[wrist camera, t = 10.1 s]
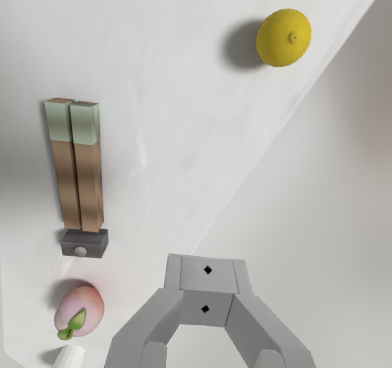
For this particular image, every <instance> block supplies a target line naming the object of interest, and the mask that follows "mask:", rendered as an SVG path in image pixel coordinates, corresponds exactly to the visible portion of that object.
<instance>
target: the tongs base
mask: <svg viewBox="0 0 392 368" xmlns="http://www.w3.org/2000/svg"><path fill="white" fill-rule="evenodd" d="M74 103H75V100H71V99H62V98H54V99H51V100H48V101H44V104H45V111H46V117H47V123H48V129H49V136H50V140H51V143H52V150H53V156H54V162H55V169H56V175H57V182H58V188H59V194H60V201H61V207H62V213H63V220H64V226H65V228H69V230H68V232H67V233H66V234H65V236H64V237H63V239H62V240H61V241H60V242H61V248H62V254H63V255H65V256H78V257H90V258H102V256H103V254H104V251H105V249H106V247H107V245H108V243H109V242H108V230H106V229H99V231H98V232H89V231H83V227H82V217H81V207H80V197H79V187H78V176H77V166H76V156H75V146H74V141H73V131H72V121H71V111H70V105H71V104H74Z"/></svg>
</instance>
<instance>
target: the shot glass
mask: <svg viewBox="0 0 392 368" xmlns="http://www.w3.org/2000/svg"><path fill="white" fill-rule="evenodd" d="M84 355H85V350H84V349H83V348H81V347H79V346H77V345H66V346H64V347H63V348H62V350H61V352H60V353H59V355H58V357H57V359H56V361H55V363H54V364H53V366H52V368H81V366H82V362H83V359H84Z"/></svg>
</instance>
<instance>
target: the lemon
mask: <svg viewBox="0 0 392 368" xmlns="http://www.w3.org/2000/svg"><path fill="white" fill-rule="evenodd" d="M310 39H311V27H310V23H309V21H308V19H307V18H306V17H305V16H304V14H302V13H301V12H299V11H297V10H293V9H282V10H279V11H277V12H274V13H273V14H271V15H270V16H269V17H267V18H266V19H265V21H264V22H263V23H262V24H261V26H260V28H259V30H258V33H257V36H256V49H257V52H258V55H259V57H260V58H261V59H262V60H263V61H264V62H265V63H266V64H268V65H271V66H274V67H283V66H287V65H290V64H292V63H294V62H295V61H297V60H298V59H299V58H300V57H301V56H302V55H303V54H304V53H305V51H306V50H307V48H308V46H309V43H310Z"/></svg>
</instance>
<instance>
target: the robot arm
mask: <svg viewBox="0 0 392 368" xmlns="http://www.w3.org/2000/svg"><path fill="white" fill-rule="evenodd" d="M179 324H188V325H206V326H216V327H225V330H226V332H227V333H228V335H229V337H230V338H231V340H232V341H233V343H234V345H235V346H236V348H237V350H238V351H239V353H240V355H241V356H242V358H243V359H244V361H245V363H246V364H247V366H248V368H316V366H315V363H314V361H313V358H312V356H311V353H310V351H309V350H308V349H307V348H306V347H305V346H304V345H303V344H302V343H301V341H300V340H299V339H298V338H297V337H296V336H295V335H294V334H293V333H292V332H291V331H290V330H289V329H288V328H287V327H286V326H285V324H284V323H283V322H282V321H281V320H280V319H279V318H278V317H277V316H276V315H275V314H274V313H273V312H272V311H271V310H270V309H269V308H268V306H267V305H266V304H265V303H264V302H263V301H262V300H261V299H260V298H259V297H258V296H254V294H253V290H252V286H251V282H250V278H249V274H248V270H247V266H246V262H245V261H244V260H236V259H232V260H231V259H223V258H210V257H199V256H190V255H182V256H181V255H178V254H170V253H169V255H168V259H167V267H166V274H165V282H164V288H159V289H158V291H157V292H156V293H155V294H154V295H153V296H152V297H151V298H150V299H149V300H148V301H147V302H146V303H145V304H144V305H143V306H142V307H141V308H140V309H139V311H138V312H137V313H136V314H135V315H134V316H133V317H132V318H131V319H130V320H129V321H128V322H127V323H126V324H125V325H124V326H123V327H122V328H121V329H120V331H119V332H118V333H117V334H116V335H115V336H114V337H113V338H112V342H111V345H110V349H109V352H108V355H107V359H106V362H105V366H104V368H166V356H167V347H166V345H167V343H168V342H169V340H170V339H171V337H172V335H173V334H174V333H175V331H176V329H177V328H178V326H179Z"/></svg>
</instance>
